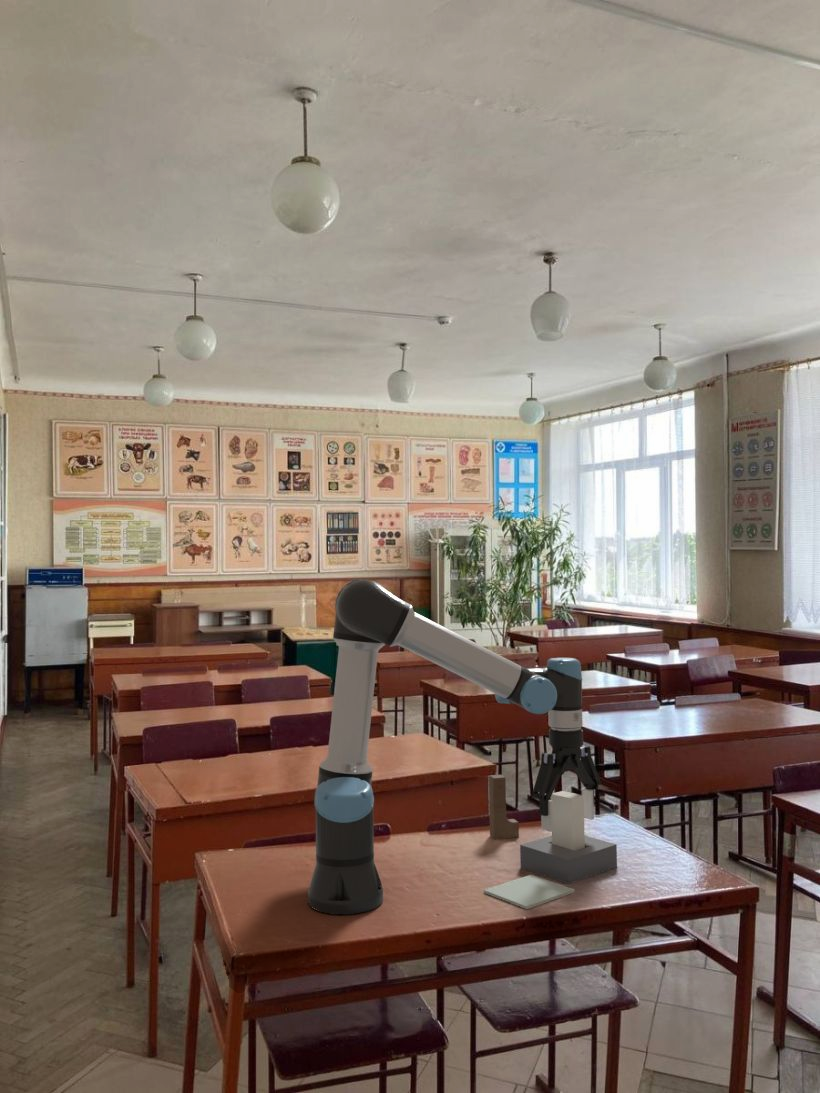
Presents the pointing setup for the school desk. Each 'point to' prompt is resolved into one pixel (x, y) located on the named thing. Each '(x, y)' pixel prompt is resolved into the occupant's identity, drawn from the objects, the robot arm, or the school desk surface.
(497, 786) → the wooden block
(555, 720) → the robot arm
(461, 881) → the school desk surface
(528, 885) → the mat
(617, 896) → the school desk surface
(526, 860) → the socket block
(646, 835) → the school desk surface
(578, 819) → the plug
